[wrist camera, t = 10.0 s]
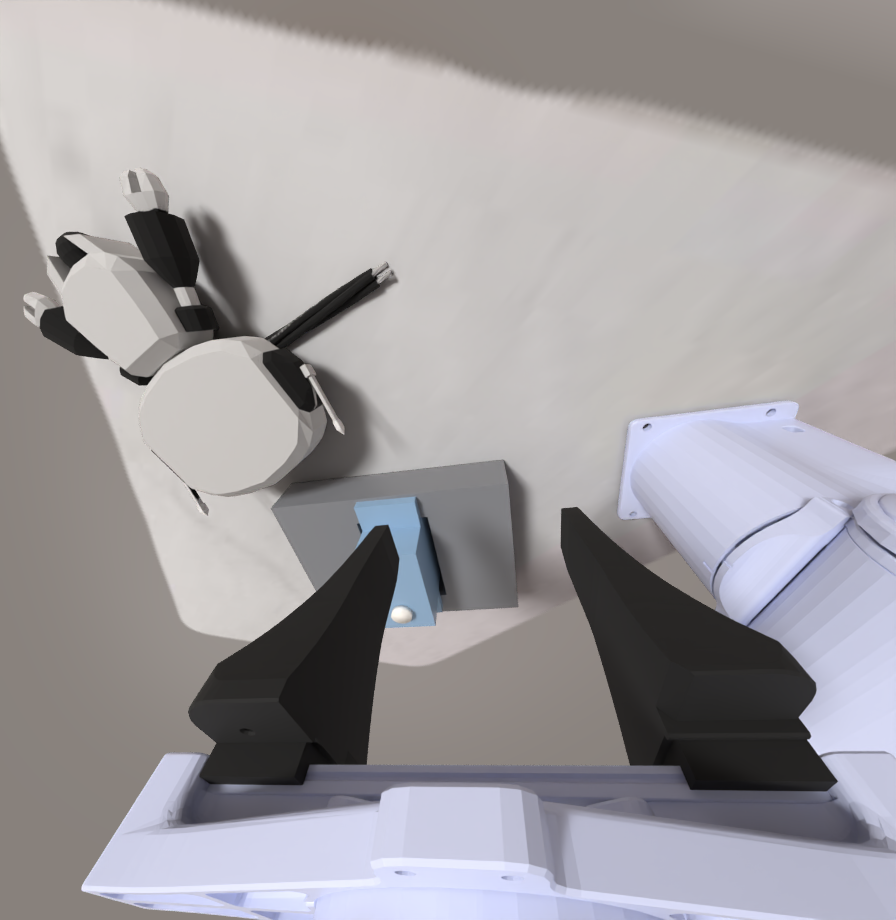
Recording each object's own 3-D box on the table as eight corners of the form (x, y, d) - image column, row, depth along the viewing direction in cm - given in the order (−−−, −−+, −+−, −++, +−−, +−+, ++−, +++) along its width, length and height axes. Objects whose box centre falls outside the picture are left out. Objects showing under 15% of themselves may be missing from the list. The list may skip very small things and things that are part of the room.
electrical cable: (385, 258, 17) (381, 258, 16) (395, 277, 17) (392, 278, 16) (226, 364, 20) (216, 368, 19) (238, 378, 21) (229, 383, 20)
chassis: (503, 459, 22) (508, 483, 19) (513, 576, 28) (518, 607, 25) (291, 483, 24) (270, 508, 21) (342, 588, 30) (330, 617, 27)
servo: (420, 475, 22) (407, 533, 17) (444, 580, 28) (439, 647, 23) (367, 481, 23) (338, 538, 18) (400, 582, 28) (386, 649, 23)
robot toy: (72, 307, 19) (248, 492, 24) (-36, 307, 15) (202, 528, 20) (196, 169, 16) (372, 418, 21) (99, 122, 12) (346, 445, 17)
